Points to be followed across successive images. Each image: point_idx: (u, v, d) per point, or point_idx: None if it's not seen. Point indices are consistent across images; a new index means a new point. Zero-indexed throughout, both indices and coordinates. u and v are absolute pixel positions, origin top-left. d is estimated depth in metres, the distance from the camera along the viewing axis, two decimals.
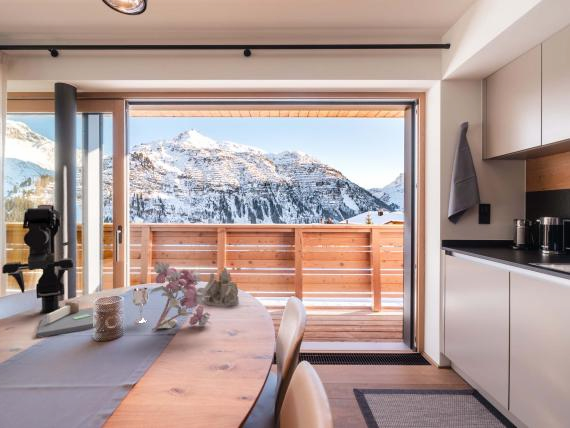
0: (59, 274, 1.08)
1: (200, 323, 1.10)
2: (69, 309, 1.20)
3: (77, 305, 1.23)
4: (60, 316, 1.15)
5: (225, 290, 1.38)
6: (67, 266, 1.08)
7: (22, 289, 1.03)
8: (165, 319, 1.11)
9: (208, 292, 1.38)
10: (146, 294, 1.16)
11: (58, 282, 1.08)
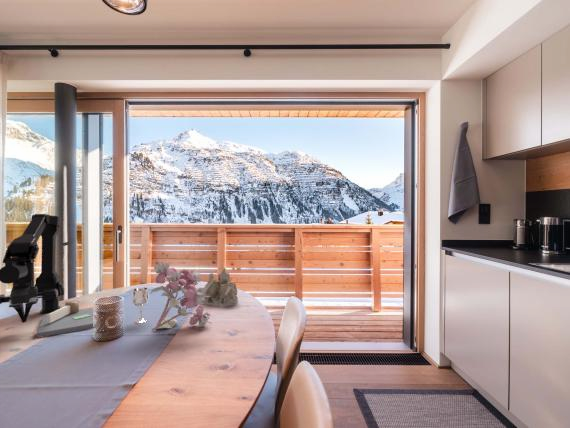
0: (26, 308, 1.07)
1: (200, 323, 1.10)
2: (69, 309, 1.20)
3: (77, 305, 1.23)
4: (60, 316, 1.15)
5: (224, 290, 1.37)
6: (50, 298, 1.10)
7: (22, 319, 1.07)
8: (165, 319, 1.11)
9: (207, 292, 1.38)
10: (146, 294, 1.16)
11: (25, 316, 1.08)
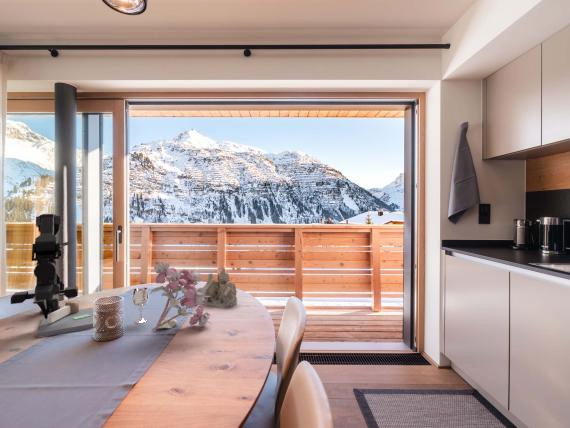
0: (48, 305, 1.10)
1: (200, 323, 1.10)
2: (69, 309, 1.20)
3: (77, 305, 1.23)
4: (61, 316, 1.15)
5: (223, 290, 1.37)
6: (72, 295, 1.13)
7: (45, 316, 1.11)
8: (165, 319, 1.11)
9: (206, 292, 1.38)
10: (146, 294, 1.16)
11: (47, 312, 1.11)
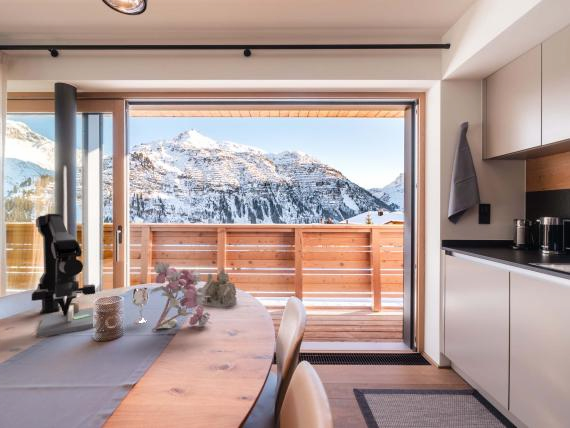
0: (67, 302, 1.13)
1: (200, 323, 1.10)
2: (73, 308, 1.21)
3: (78, 304, 1.24)
4: None
5: (223, 290, 1.37)
6: (90, 292, 1.15)
7: (64, 313, 1.13)
8: (165, 319, 1.11)
9: (206, 293, 1.38)
10: (146, 294, 1.16)
11: (66, 310, 1.13)
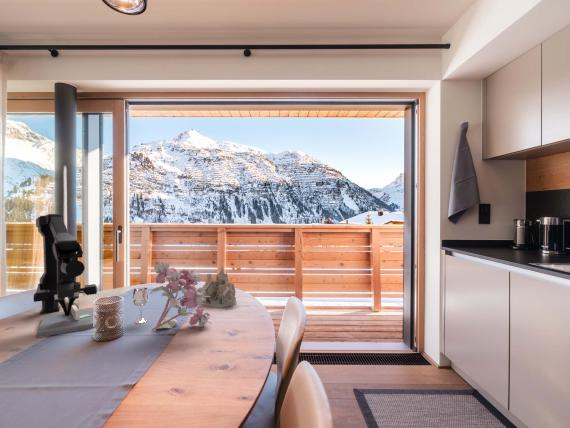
0: (70, 302, 1.14)
1: (200, 323, 1.10)
2: None
3: (78, 304, 1.24)
4: None
5: (222, 291, 1.36)
6: (91, 293, 1.16)
7: (66, 313, 1.14)
8: (165, 319, 1.11)
9: (205, 293, 1.37)
10: (146, 294, 1.16)
11: (69, 310, 1.14)
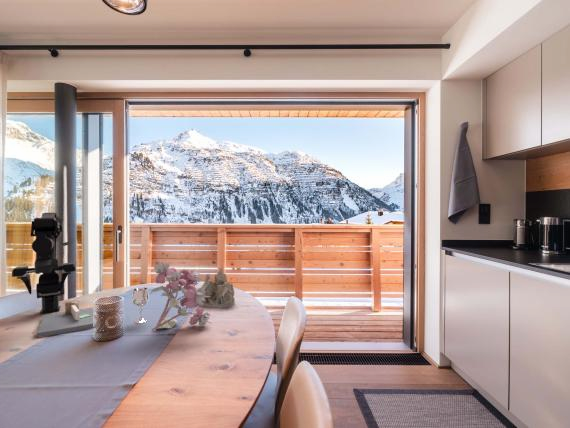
0: (63, 277, 1.19)
1: (200, 323, 1.10)
2: None
3: (78, 304, 1.24)
4: None
5: (221, 291, 1.36)
6: (70, 270, 1.19)
7: (29, 291, 1.15)
8: (165, 319, 1.11)
9: None
10: (146, 294, 1.16)
11: (62, 284, 1.20)
